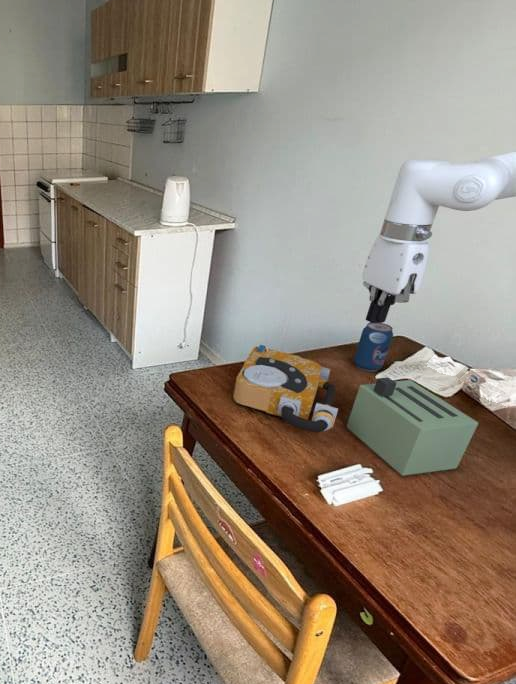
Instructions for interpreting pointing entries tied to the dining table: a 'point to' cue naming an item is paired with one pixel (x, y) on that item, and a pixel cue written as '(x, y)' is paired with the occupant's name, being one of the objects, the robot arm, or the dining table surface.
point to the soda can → (373, 346)
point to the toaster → (411, 428)
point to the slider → (385, 386)
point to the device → (286, 388)
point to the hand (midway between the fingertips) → (374, 321)
